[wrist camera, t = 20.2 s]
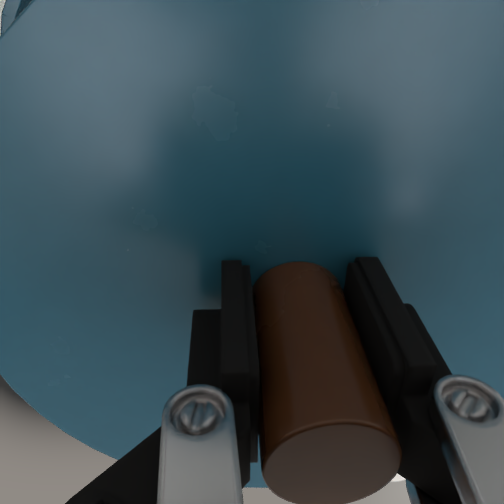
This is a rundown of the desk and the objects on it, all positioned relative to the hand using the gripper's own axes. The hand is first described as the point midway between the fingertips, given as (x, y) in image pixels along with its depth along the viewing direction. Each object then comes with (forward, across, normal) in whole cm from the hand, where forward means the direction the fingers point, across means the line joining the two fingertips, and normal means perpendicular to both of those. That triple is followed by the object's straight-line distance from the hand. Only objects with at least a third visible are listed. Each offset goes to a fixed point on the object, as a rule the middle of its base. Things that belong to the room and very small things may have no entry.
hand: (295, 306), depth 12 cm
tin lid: (+1, 0, 0) cm, 1 cm away
